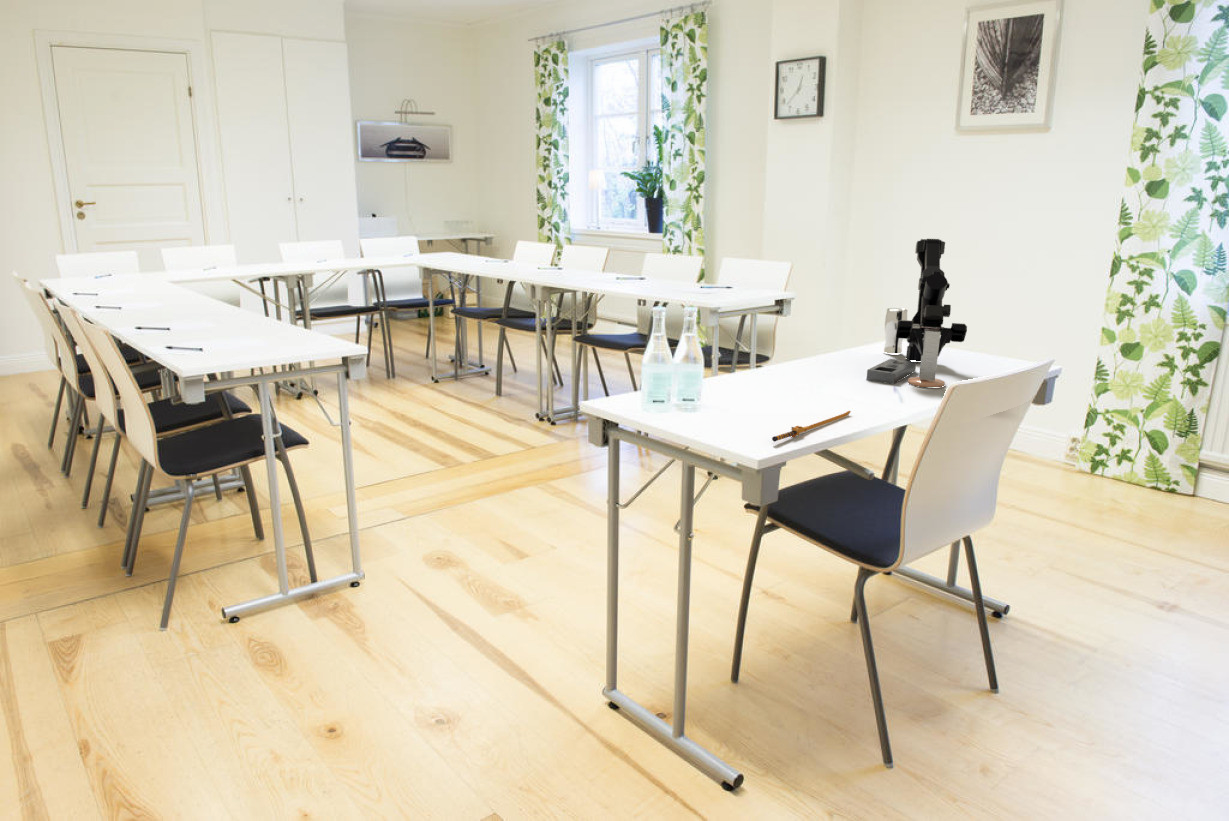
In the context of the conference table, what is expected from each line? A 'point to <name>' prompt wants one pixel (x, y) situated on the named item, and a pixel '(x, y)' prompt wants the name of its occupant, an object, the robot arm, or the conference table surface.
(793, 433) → the katana
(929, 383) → the terracotta coaster
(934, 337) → the steel peg
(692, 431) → the conference table surface
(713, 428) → the conference table surface
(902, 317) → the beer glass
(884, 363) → the rack rail
